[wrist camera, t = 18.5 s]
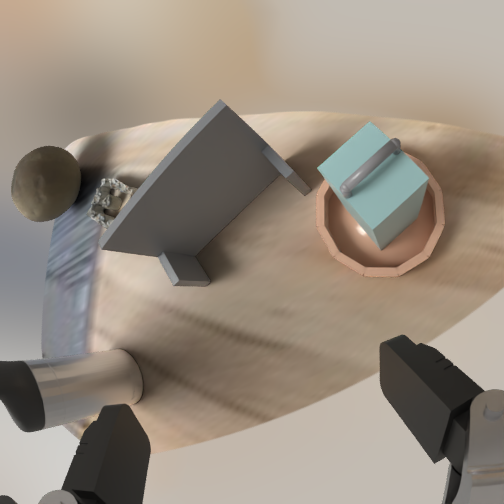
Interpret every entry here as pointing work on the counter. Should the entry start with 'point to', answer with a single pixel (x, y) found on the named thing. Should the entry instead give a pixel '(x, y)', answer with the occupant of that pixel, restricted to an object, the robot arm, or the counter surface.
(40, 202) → the cantaloupe
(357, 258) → the dish
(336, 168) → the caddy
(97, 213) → the miniature stone ruin
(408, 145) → the counter surface
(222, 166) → the screen
